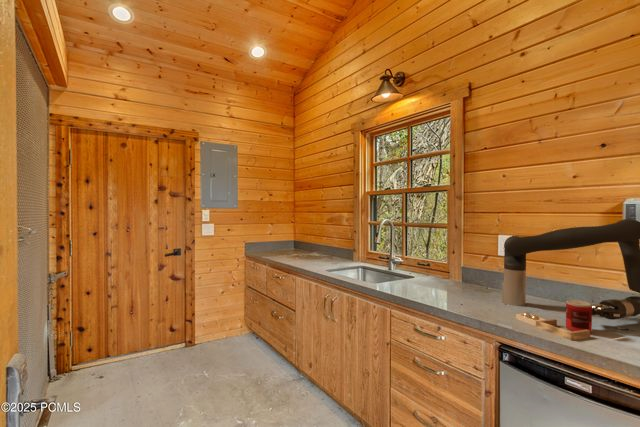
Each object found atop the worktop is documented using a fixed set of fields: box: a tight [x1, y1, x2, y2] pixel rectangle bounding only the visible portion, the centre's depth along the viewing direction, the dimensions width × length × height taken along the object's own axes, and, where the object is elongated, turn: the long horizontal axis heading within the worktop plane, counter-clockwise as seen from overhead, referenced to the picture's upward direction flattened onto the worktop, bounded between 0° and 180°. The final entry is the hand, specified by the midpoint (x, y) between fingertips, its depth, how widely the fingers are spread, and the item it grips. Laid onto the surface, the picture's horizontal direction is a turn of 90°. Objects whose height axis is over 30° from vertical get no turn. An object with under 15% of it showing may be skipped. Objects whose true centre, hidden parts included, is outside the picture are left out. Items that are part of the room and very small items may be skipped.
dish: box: [515, 313, 547, 327], centre depth 136 cm, size 9×6×2 cm, turn 17°
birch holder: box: [535, 318, 591, 341], centre depth 124 cm, size 13×9×3 cm
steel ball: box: [523, 311, 532, 319], centre depth 138 cm, size 3×3×3 cm
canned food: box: [565, 299, 593, 334], centre depth 126 cm, size 8×8×11 cm
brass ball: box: [531, 314, 540, 320], centre depth 134 cm, size 3×3×3 cm
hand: (585, 312), depth 127 cm, fingers closed
